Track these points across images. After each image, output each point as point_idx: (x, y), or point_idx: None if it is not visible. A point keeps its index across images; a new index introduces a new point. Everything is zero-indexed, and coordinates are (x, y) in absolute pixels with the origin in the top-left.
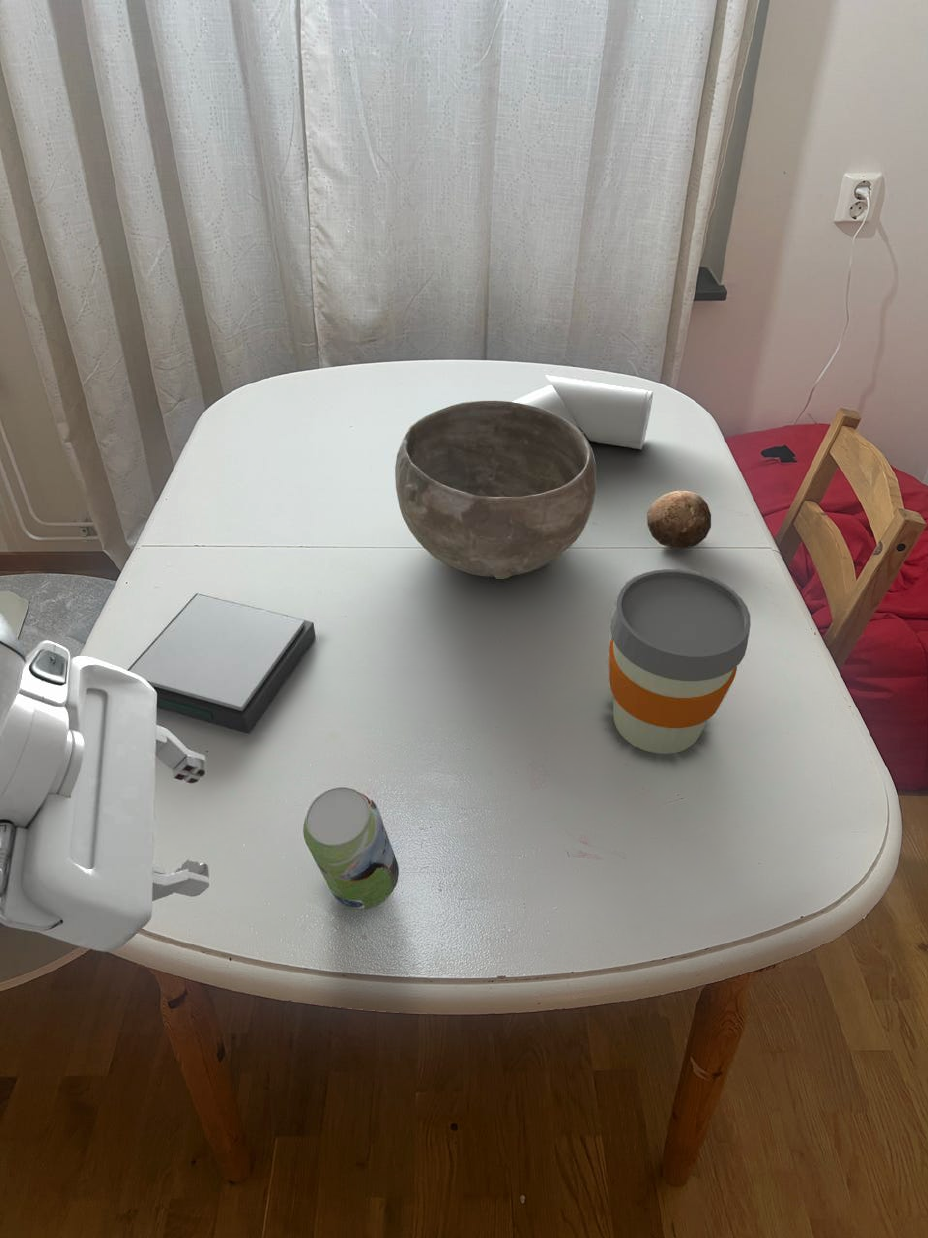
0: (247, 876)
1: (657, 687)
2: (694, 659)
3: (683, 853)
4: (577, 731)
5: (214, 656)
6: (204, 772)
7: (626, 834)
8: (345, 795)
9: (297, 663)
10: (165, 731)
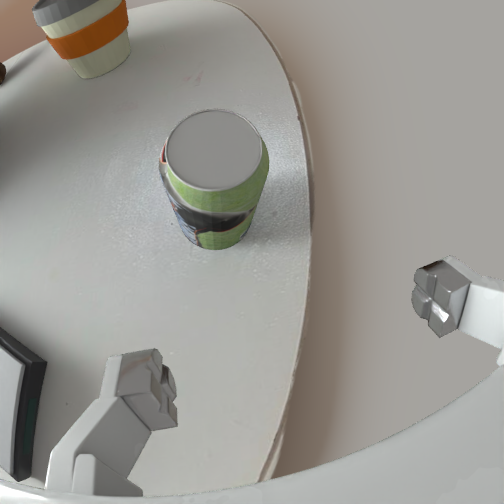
0: (210, 342)
1: (109, 6)
2: None
3: (203, 42)
4: (96, 92)
5: None
6: (155, 350)
7: (185, 62)
8: (180, 139)
9: None
10: (58, 457)
